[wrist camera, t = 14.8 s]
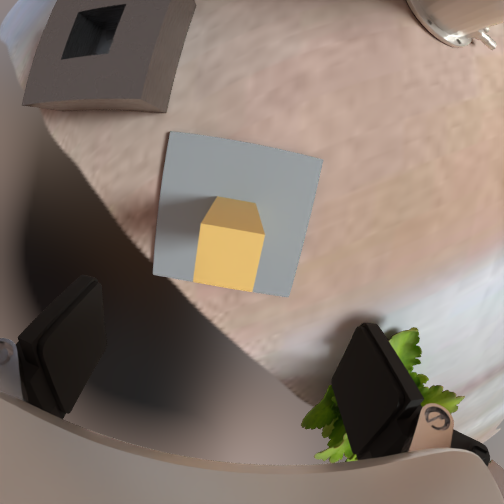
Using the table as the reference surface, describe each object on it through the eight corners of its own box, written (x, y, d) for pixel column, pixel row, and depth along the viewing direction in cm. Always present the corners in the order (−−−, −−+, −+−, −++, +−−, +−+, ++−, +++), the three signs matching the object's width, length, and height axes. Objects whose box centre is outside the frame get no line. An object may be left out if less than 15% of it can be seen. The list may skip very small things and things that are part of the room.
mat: (321, 159, 28) (323, 159, 27) (287, 295, 33) (288, 297, 32) (171, 131, 26) (170, 131, 26) (154, 272, 31) (152, 274, 31)
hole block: (196, 5, 21) (184, -31, 14) (166, 112, 26) (140, 99, 18) (92, 13, 20) (62, -11, 12) (63, 111, 24) (22, 105, 17)
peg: (255, 203, 29) (265, 234, 17) (248, 239, 30) (252, 291, 19) (217, 196, 28) (200, 223, 17) (211, 233, 30) (192, 281, 18)
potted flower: (447, 364, 40) (492, 424, 23) (356, 437, 45) (378, 503, 29) (389, 297, 34) (462, 383, 17) (269, 400, 39) (281, 497, 23)
